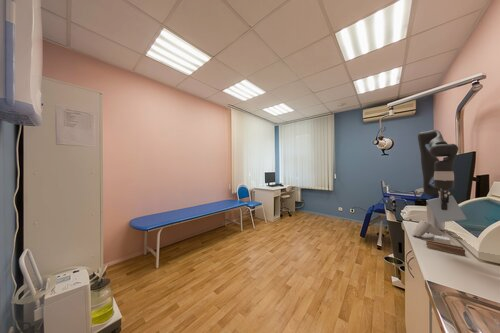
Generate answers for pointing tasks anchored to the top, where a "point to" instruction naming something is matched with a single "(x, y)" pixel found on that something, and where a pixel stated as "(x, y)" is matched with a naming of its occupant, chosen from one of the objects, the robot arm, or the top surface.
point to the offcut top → (442, 239)
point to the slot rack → (445, 247)
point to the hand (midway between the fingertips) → (444, 209)
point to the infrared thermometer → (426, 229)
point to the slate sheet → (446, 215)
